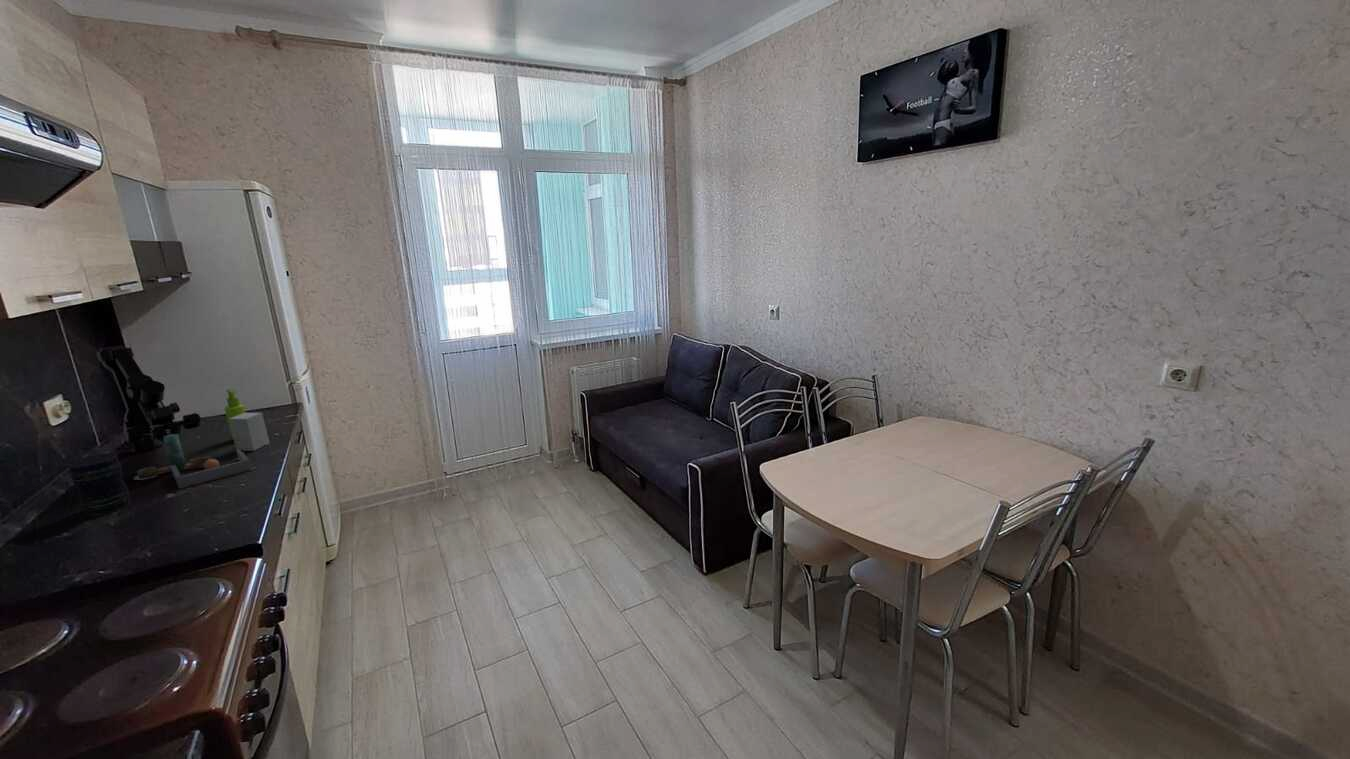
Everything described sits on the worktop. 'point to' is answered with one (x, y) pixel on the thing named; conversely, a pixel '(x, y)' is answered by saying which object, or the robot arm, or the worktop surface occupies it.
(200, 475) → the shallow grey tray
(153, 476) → the pivot base
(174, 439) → the lever
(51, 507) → the worktop surface
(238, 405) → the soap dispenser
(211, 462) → the ball
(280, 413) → the worktop surface
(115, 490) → the storage jar
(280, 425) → the worktop surface
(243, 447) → the supplement box
